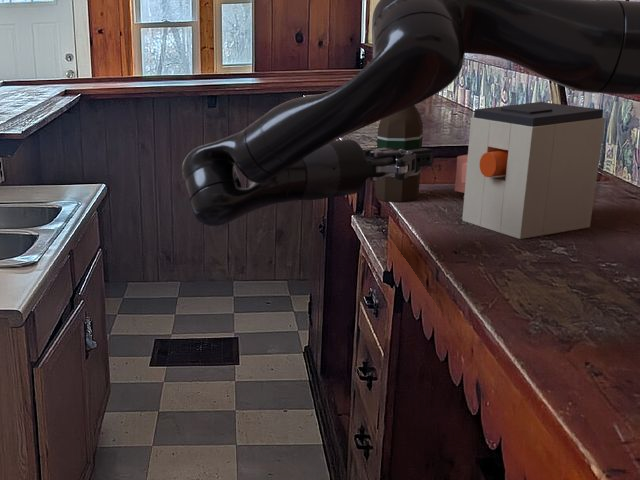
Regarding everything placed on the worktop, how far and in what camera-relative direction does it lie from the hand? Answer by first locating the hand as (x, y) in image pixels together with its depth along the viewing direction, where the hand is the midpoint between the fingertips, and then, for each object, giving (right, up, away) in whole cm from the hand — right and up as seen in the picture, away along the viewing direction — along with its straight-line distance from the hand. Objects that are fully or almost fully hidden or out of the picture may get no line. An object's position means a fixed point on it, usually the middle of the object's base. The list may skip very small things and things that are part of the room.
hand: (430, 156), depth 123 cm
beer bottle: (+4, 0, +31) cm, 31 cm away
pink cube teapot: (+19, -1, +28) cm, 34 cm away
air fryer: (+18, -8, +10) cm, 22 cm away
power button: (+12, -2, +5) cm, 13 cm away
